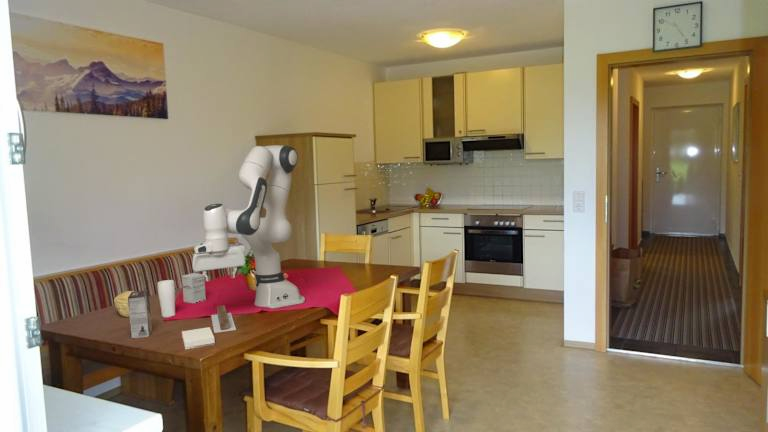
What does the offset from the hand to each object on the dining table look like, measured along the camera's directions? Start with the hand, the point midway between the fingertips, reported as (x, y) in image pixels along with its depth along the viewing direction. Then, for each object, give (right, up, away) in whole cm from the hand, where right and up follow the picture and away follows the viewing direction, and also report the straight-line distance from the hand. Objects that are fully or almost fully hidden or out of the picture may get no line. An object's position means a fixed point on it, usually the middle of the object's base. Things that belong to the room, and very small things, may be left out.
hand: (220, 279), depth 224 cm
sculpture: (-44, -18, +20) cm, 52 cm away
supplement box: (-24, -15, +40) cm, 48 cm away
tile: (-5, -19, -13) cm, 23 cm away
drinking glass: (-27, -18, +15) cm, 35 cm away
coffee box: (-28, -20, -8) cm, 35 cm away
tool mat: (+1, -18, +2) cm, 18 cm away
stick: (+1, -17, +1) cm, 17 cm away
